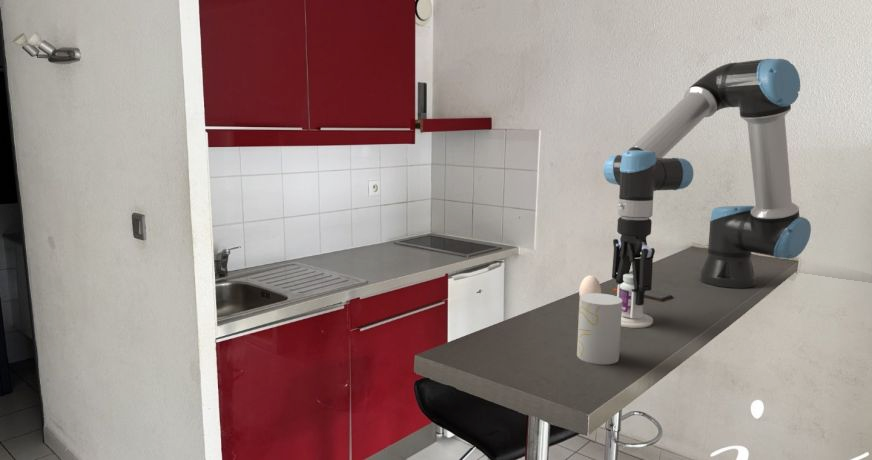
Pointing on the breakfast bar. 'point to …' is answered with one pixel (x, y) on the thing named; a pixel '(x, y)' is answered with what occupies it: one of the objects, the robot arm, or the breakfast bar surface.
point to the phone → (655, 296)
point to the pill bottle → (626, 294)
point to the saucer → (636, 322)
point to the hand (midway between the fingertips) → (628, 313)
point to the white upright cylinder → (599, 328)
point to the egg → (589, 285)
